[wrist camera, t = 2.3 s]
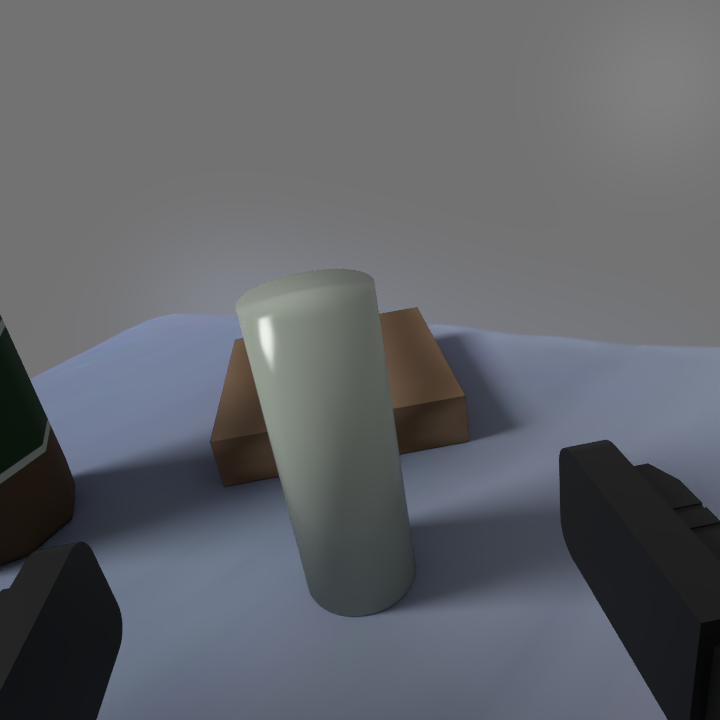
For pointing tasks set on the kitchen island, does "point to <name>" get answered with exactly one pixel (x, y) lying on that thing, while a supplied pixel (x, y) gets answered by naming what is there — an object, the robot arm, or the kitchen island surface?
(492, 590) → the kitchen island surface
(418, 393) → the walnut block
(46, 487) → the beer bottle
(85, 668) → the robot arm
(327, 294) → the pale green cylinder
